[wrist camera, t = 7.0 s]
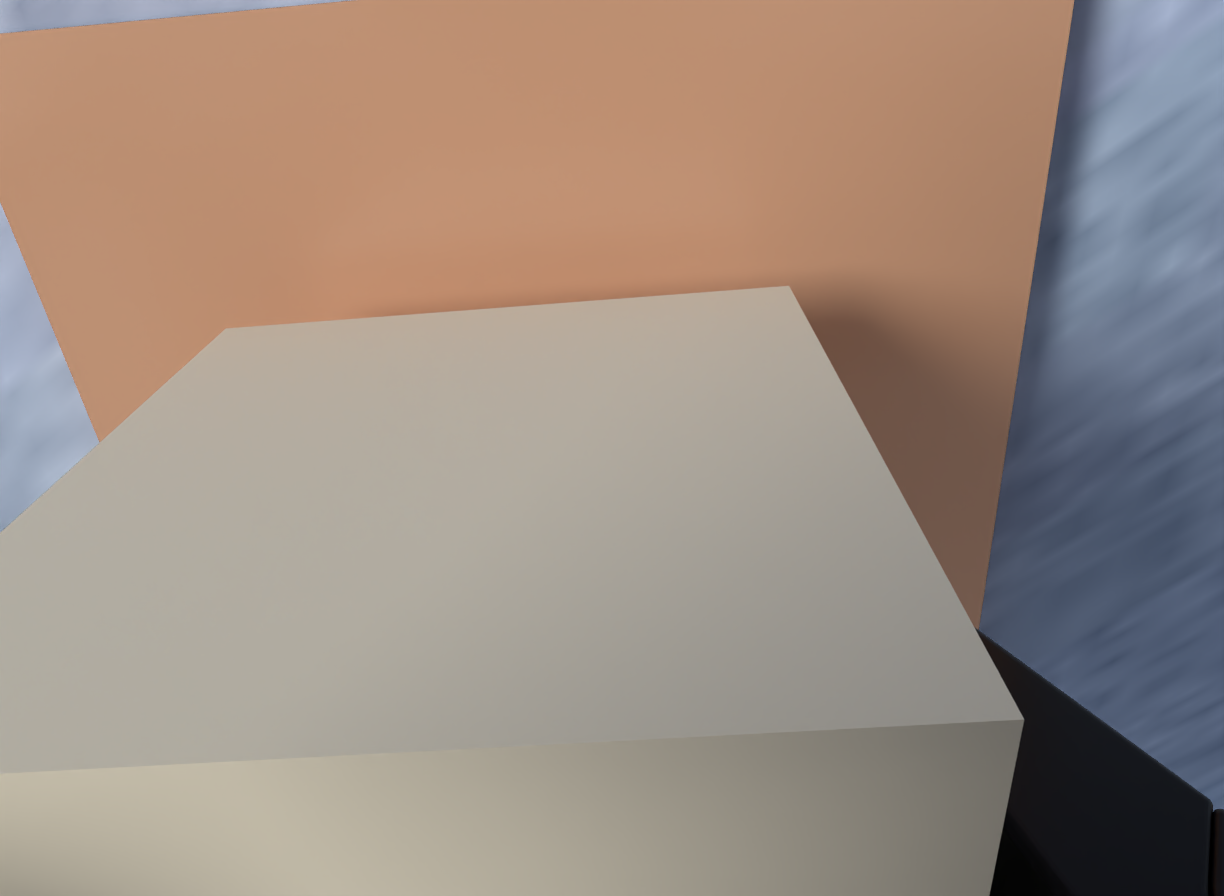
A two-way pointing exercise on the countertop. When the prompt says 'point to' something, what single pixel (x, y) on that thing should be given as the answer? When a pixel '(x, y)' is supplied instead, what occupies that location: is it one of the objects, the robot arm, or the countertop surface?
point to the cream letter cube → (495, 625)
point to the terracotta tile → (559, 188)
